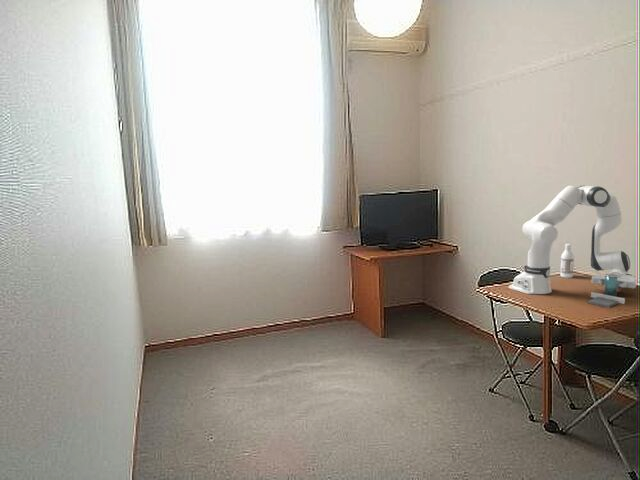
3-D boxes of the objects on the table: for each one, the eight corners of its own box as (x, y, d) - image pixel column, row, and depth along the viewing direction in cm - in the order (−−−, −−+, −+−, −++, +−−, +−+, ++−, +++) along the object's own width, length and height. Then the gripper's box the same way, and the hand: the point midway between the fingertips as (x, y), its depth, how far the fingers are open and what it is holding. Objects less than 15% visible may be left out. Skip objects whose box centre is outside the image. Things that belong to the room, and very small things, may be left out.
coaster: (587, 303, 247) (587, 300, 247) (597, 299, 253) (597, 296, 252) (608, 307, 239) (608, 305, 239) (618, 303, 244) (618, 301, 244)
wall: (590, 297, 256) (590, 292, 256) (591, 296, 257) (592, 292, 257) (623, 303, 243) (623, 299, 243) (624, 303, 244) (624, 298, 244)
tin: (602, 297, 255) (603, 275, 253) (607, 295, 258) (608, 273, 256) (613, 299, 250) (614, 277, 248) (618, 297, 253) (619, 275, 251)
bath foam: (569, 278, 294) (570, 245, 290) (558, 276, 300) (559, 244, 296) (575, 276, 298) (576, 244, 294) (564, 274, 303) (565, 242, 300)
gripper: (594, 271, 269) (588, 276, 259) (638, 275, 256) (633, 281, 246) (594, 282, 270) (588, 287, 260) (637, 287, 257) (633, 293, 247)
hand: (610, 284), depth 253 cm, fingers open, 8 cm apart
